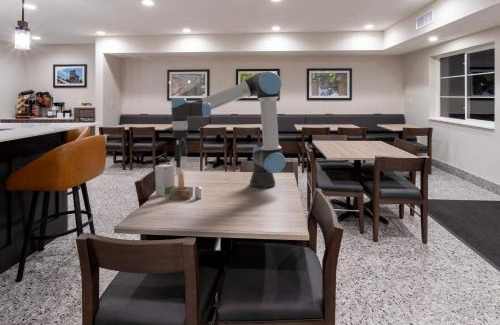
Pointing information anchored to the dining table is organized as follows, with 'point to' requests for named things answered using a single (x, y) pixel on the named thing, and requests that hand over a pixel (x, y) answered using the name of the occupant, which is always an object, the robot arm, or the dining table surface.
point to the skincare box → (164, 179)
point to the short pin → (197, 193)
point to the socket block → (181, 193)
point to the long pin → (181, 181)
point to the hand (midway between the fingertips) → (181, 171)
